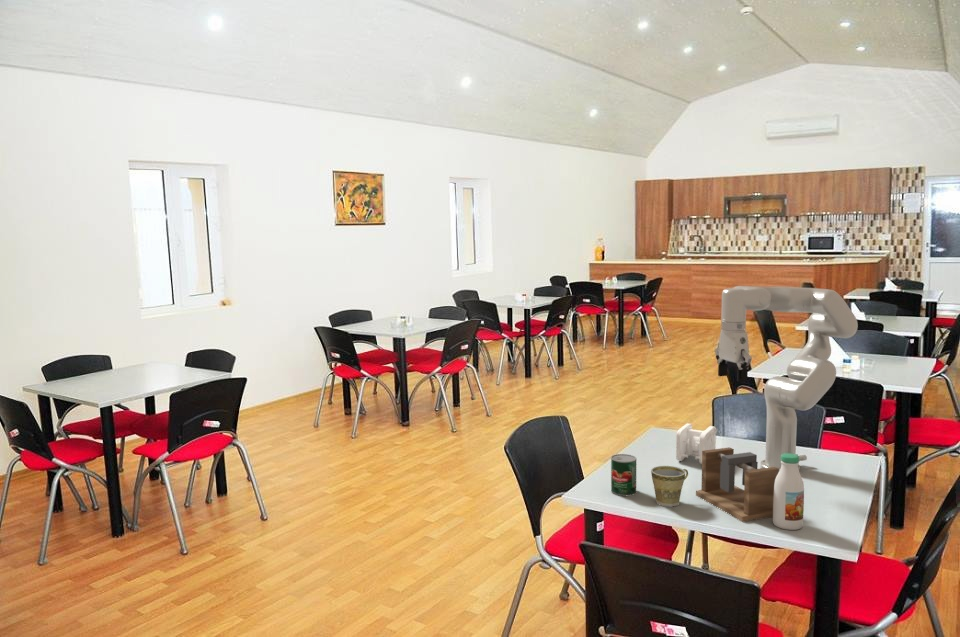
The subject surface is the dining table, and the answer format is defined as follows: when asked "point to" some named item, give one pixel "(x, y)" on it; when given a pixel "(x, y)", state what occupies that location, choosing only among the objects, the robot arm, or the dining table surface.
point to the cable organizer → (694, 442)
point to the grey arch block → (729, 468)
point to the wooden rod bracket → (740, 502)
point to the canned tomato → (623, 474)
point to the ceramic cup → (668, 484)
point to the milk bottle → (788, 494)
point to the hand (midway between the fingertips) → (732, 378)
